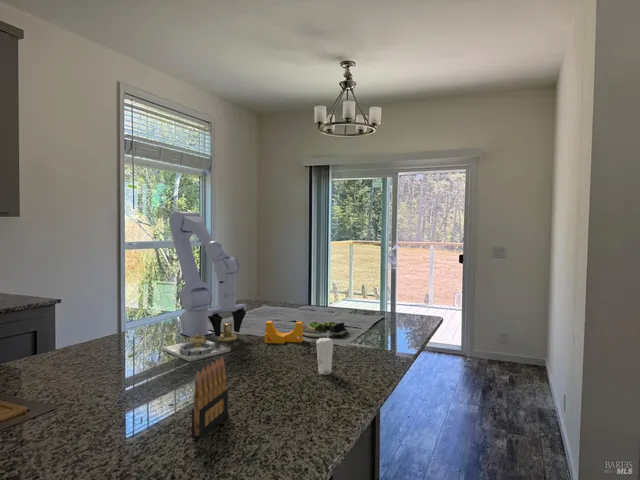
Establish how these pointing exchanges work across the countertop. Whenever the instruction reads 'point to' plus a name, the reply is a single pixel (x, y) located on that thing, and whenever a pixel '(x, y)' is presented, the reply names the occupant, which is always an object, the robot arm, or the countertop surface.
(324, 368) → the milkshake
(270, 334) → the pipe clamp
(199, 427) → the ammunition clip
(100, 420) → the countertop surface
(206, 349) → the carrier
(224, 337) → the flanged cylinder knob
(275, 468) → the countertop surface
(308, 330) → the salad plate
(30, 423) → the countertop surface
